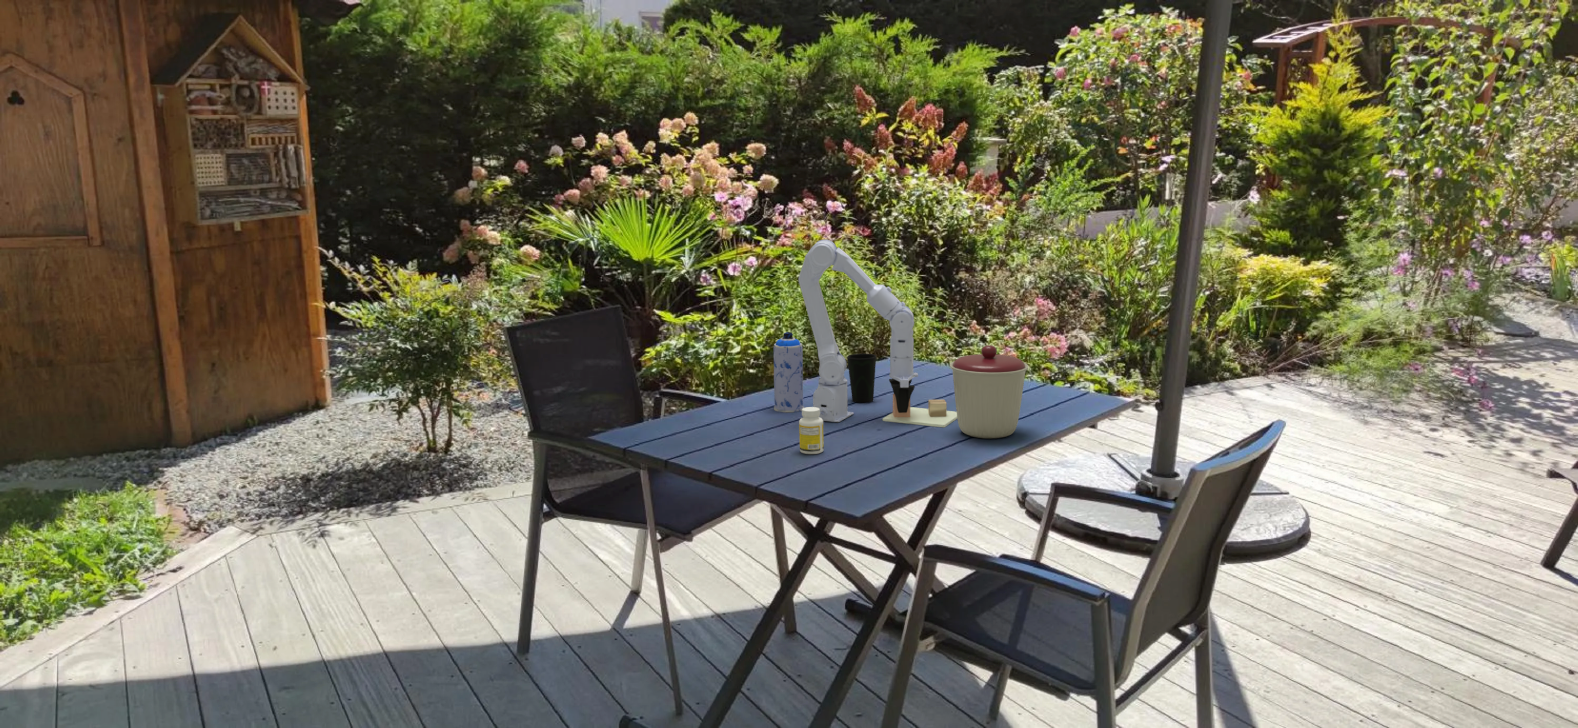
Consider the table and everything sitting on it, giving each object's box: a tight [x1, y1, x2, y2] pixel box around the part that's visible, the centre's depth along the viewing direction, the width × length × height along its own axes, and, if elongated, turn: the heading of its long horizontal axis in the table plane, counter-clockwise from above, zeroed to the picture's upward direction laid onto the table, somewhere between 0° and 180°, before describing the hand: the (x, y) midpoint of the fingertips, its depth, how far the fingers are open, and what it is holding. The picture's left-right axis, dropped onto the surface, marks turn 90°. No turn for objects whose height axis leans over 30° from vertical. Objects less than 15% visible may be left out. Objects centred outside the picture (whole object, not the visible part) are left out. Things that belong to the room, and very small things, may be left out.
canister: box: [949, 344, 1029, 439], centre depth 265 cm, size 18×18×21 cm
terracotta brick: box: [892, 393, 911, 417], centre depth 283 cm, size 4×4×5 cm
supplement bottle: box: [798, 406, 825, 455], centre depth 253 cm, size 5×5×10 cm
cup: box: [846, 353, 877, 404], centre depth 301 cm, size 8×8×12 cm
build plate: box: [882, 406, 958, 428], centre depth 283 cm, size 14×16×1 cm
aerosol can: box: [773, 331, 805, 413], centre depth 292 cm, size 8×8×20 cm
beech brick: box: [927, 399, 948, 417], centre depth 283 cm, size 4×4×3 cm
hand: (901, 409), depth 283 cm, fingers open, 5 cm apart
